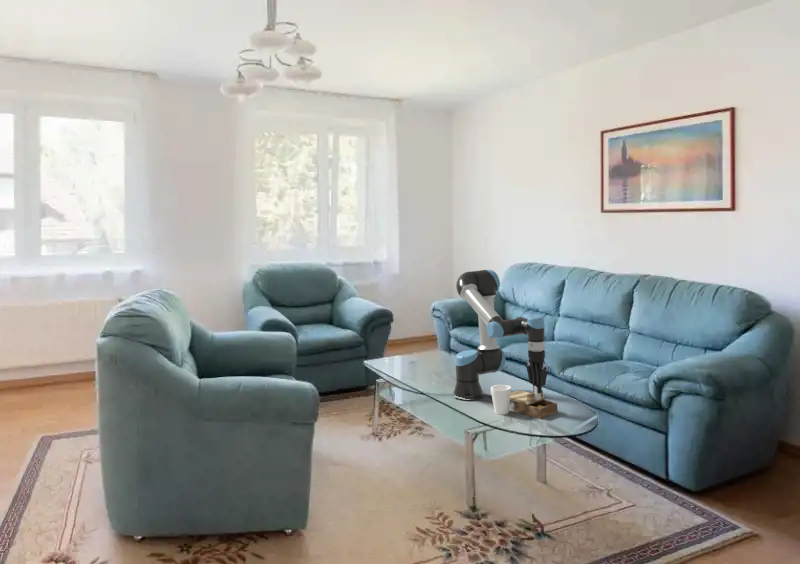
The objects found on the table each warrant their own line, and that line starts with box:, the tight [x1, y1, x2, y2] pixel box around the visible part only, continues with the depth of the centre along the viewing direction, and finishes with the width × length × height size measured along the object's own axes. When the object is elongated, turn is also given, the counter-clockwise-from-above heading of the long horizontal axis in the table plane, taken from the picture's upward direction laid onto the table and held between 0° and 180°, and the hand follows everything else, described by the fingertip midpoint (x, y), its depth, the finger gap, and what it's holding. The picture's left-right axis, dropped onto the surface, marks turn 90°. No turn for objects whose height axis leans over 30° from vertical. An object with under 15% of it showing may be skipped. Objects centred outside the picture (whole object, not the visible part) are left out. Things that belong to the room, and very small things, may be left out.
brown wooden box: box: [513, 399, 558, 420], centre depth 281 cm, size 16×12×6 cm
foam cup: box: [490, 384, 512, 416], centre depth 282 cm, size 10×9×13 cm
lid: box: [510, 389, 546, 405], centre depth 286 cm, size 16×12×4 cm
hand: (537, 399), depth 279 cm, fingers closed
